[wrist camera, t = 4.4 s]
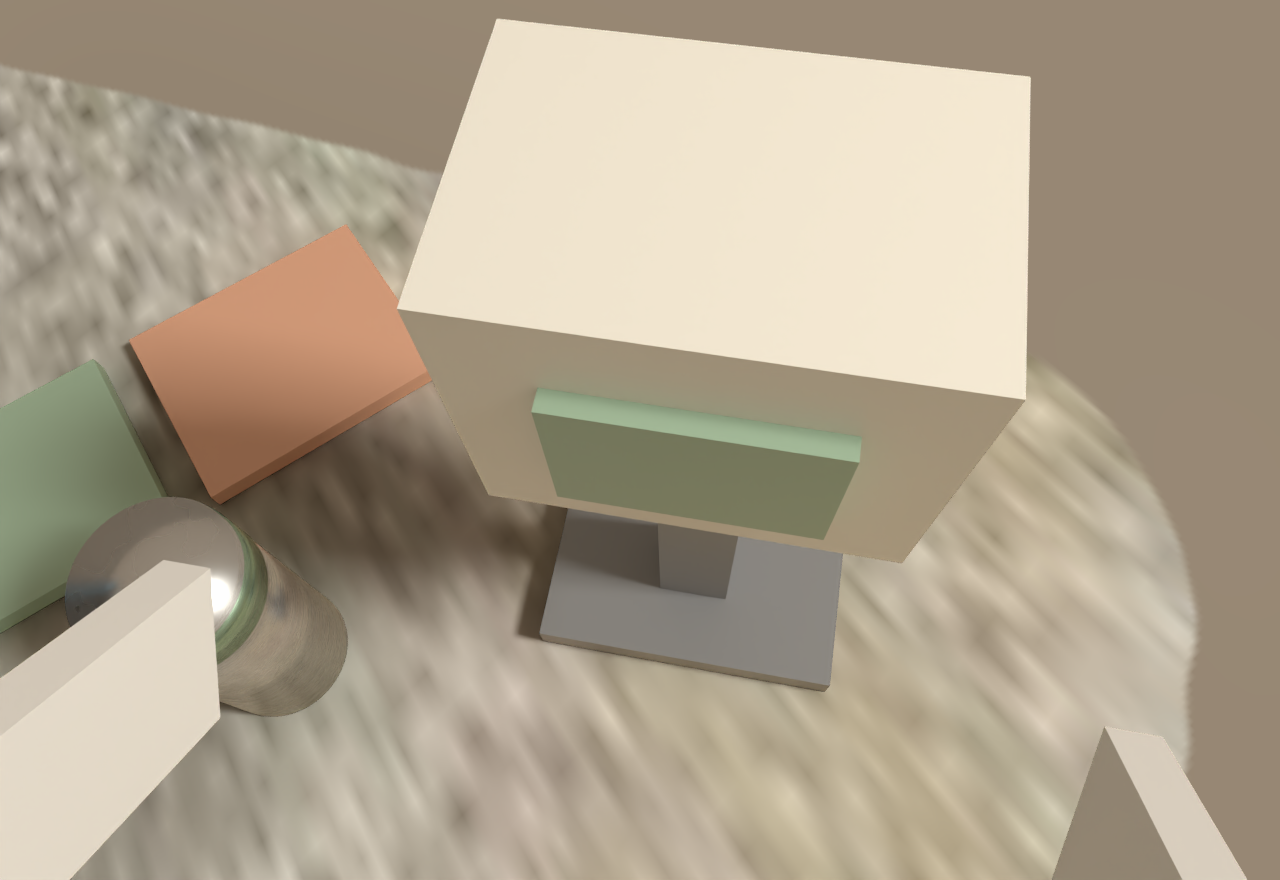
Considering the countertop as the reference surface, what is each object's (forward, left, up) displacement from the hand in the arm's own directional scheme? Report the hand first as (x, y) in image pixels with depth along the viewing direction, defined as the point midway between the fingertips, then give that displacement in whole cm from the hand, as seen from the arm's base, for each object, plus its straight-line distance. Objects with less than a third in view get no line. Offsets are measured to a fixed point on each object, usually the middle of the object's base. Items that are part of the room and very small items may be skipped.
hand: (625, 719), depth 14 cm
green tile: (-30, -18, -29) cm, 45 cm away
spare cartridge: (-16, -10, -29) cm, 34 cm away
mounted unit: (-8, +8, -29) cm, 31 cm away
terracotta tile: (-30, -3, -29) cm, 41 cm away
